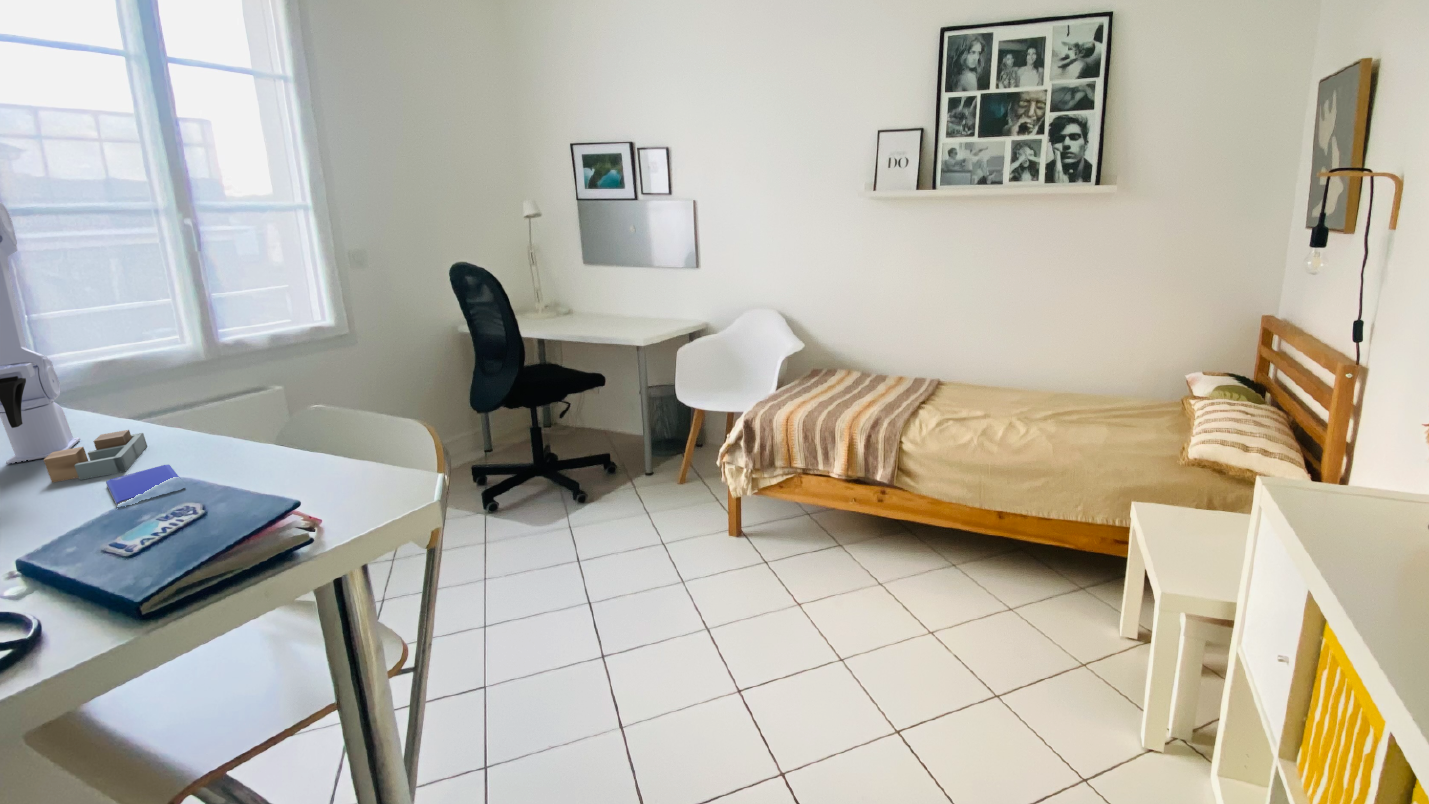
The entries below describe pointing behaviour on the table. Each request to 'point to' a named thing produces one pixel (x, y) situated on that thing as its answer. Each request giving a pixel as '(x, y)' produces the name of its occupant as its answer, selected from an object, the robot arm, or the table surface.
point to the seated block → (112, 439)
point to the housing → (111, 458)
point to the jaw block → (64, 463)
